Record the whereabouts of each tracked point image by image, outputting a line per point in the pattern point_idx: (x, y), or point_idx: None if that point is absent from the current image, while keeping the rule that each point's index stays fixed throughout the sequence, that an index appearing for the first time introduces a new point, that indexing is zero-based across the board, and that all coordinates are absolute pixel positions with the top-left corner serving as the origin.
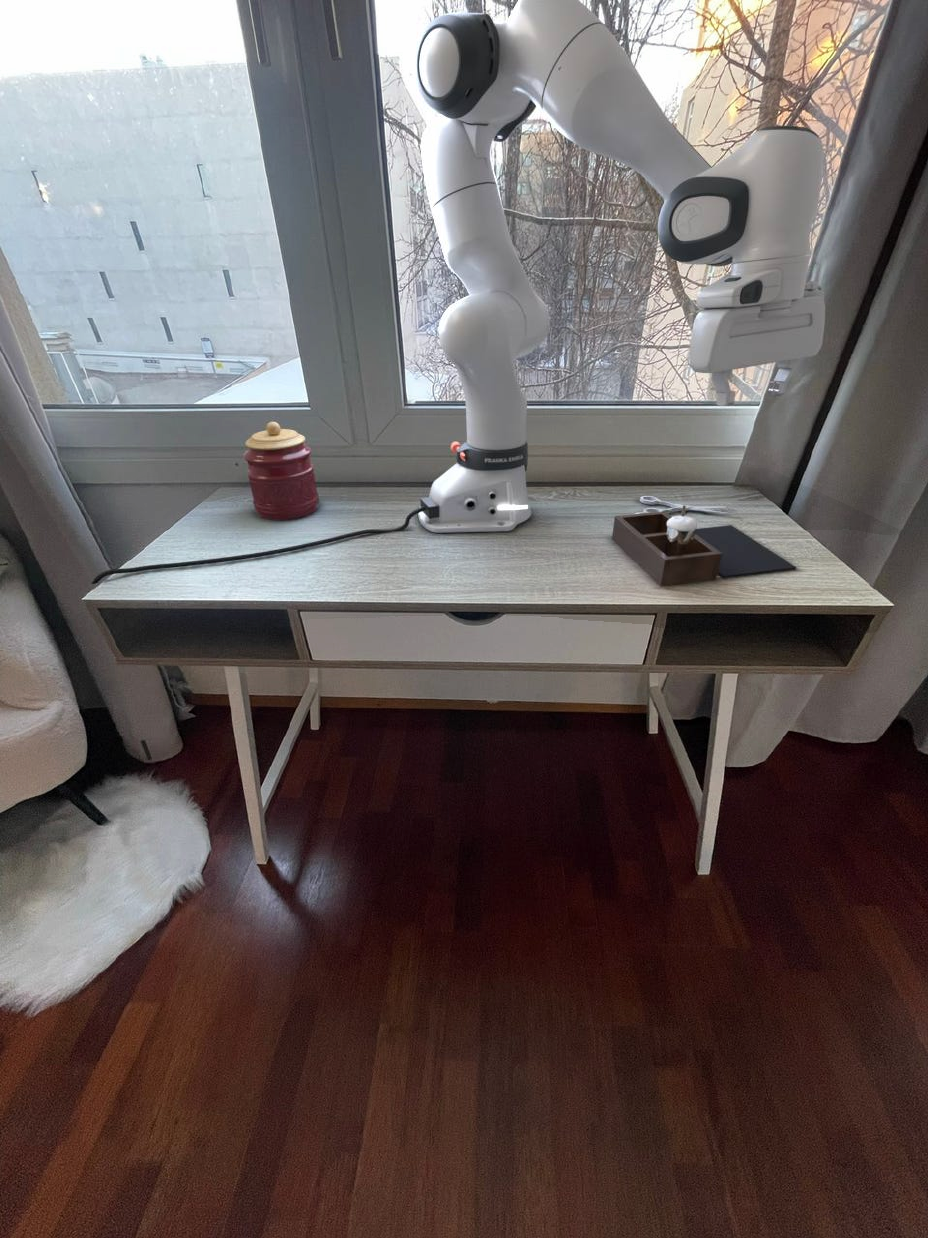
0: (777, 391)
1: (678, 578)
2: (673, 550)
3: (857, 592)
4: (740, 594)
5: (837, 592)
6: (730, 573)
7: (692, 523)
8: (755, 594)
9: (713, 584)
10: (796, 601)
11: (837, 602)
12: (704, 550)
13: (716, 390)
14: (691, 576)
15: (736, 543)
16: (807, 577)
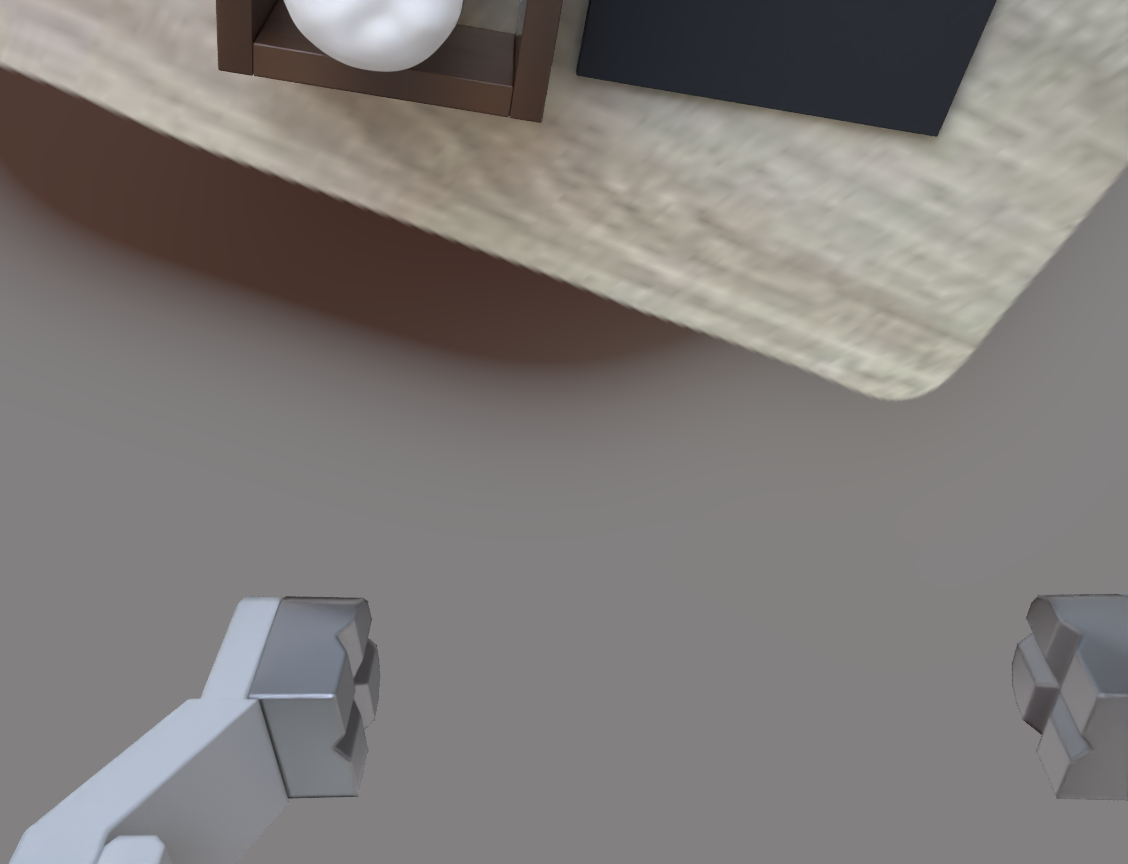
0: (1023, 708)
1: None
2: None
3: (934, 344)
4: (539, 206)
5: (875, 321)
6: (623, 69)
7: (391, 60)
8: (593, 227)
9: None
10: (687, 314)
11: (804, 364)
12: (525, 3)
13: (180, 708)
14: None
15: None
16: (902, 202)
